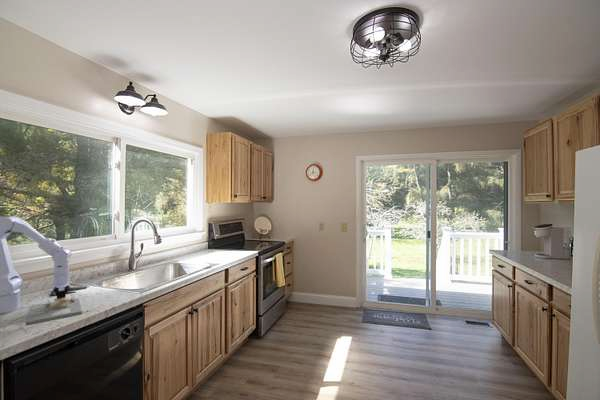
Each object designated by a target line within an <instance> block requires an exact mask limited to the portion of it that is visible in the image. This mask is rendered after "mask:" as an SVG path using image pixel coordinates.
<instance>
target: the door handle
mask: <svg viewBox="0 0 600 400" xmlns="http://www.w3.org/2000/svg"><path fill="white" fill-rule="evenodd" d="M68 286H69V289H68V291H67V293H66V295H72V294H76V293H77V291H81V290H87V288H88V286H87V285H85V286H72V287H71V286H70V285H68ZM54 288H57V287H53V288H52V291H51V293H50V294H49V297H57V296H56V293H55V292H54Z"/></svg>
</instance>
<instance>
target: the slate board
mask: <svg viewBox="0 0 600 400" xmlns="http://www.w3.org/2000/svg"><path fill="white" fill-rule="evenodd" d="M81 306H82V305H81V303H80V298H79V297H76V298H75V296H71V298H70V299H68V307H64V308H58V309H54V301H53V302H51V300H47V301H46V303H41V304H37V305H30V306H29V308H28V312H27V317H26V319H25V326H26V327H27V326H32V325H37V324H41V323H42V324H43V323H47V322H51V321H55V320H61V319H66V318H72V317H75V316H77V317H78V316H80V315H82V313H83V310H82V307H81ZM66 309H70V311H69V312H63V313H58V314H54V315H52V312H56V311H61V310H66Z"/></svg>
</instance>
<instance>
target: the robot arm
mask: <svg viewBox="0 0 600 400" xmlns="http://www.w3.org/2000/svg"><path fill="white" fill-rule="evenodd" d="M12 232H15V233H21V234H24V236H27V237H28V238H30V239H31V240H32V241H34V242H36V243H37V244H38V248H39V249H41V250H42V251H43V252H45V253H46V254H47V255H49V256H51V259H52V261H53V284H52V286H53V289H54V292H55V293H56V296H55V297H56V298H62V297H67V294H66V293H67V291H68V289H69V286H70V285H72V284H73V281H70V266H71V265H70V258H71V256H72V251H71V250H70V248H68V247H65V246H64V245H61V244H59V243H58V242H57V240H56V239H55V238H51V237H48V238H47V237H45V236H44V235H42V234H41V232H39V231H37V229H36V228H34V227H33V226H31V225H30V224H29V223H28V222H27V221H26V220H24V219H22V218H21V217H20V216H17V215H11V216H0V315H1V314H7V313H11V312H15V311H18V310H19V309H20V308H21V289H20V288H22V286H23V285H24V280H23V278H21V277H20V275H19V273H18V272H17V271H16V270H15V267H14V265H13V261H12V257H11V253H10V249H9V245H8V242H7V238H8V237H9V235H11V234H12ZM55 287H57V288H55Z"/></svg>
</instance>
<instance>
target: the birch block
mask: <svg viewBox="0 0 600 400" xmlns="http://www.w3.org/2000/svg"><path fill="white" fill-rule="evenodd" d="M68 300H69V296H65V297H62V298H57V297H56V298H54V300H53V302H54V309H58V308H64V307H68Z"/></svg>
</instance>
